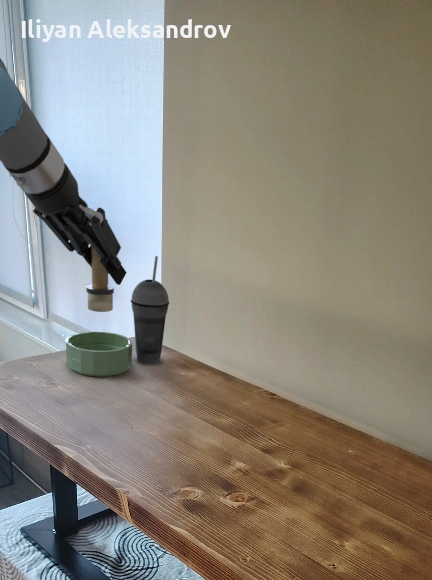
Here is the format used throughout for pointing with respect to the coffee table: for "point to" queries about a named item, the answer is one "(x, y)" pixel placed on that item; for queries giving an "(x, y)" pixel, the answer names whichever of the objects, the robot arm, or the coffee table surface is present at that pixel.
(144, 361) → the beverage cup
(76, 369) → the bowl
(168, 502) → the coffee table surface
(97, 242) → the robot arm
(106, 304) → the dowel on round base
